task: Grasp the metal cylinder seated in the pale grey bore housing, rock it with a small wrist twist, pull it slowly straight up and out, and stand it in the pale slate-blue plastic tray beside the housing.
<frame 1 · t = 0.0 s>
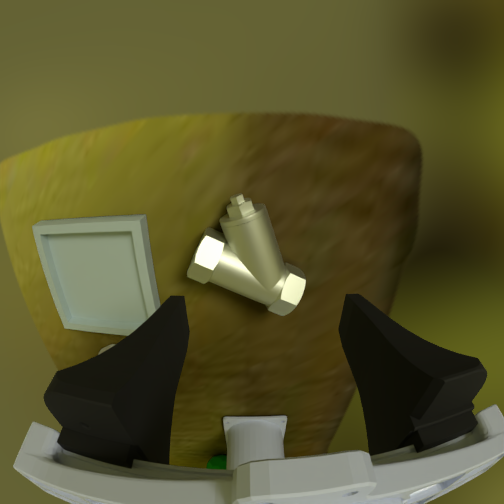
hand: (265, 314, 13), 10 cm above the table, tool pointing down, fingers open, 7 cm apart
pipe fitting: (256, 242, 23), on the table
polyhedron: (223, 455, 38), on the table
tray: (99, 276, 23), on the table
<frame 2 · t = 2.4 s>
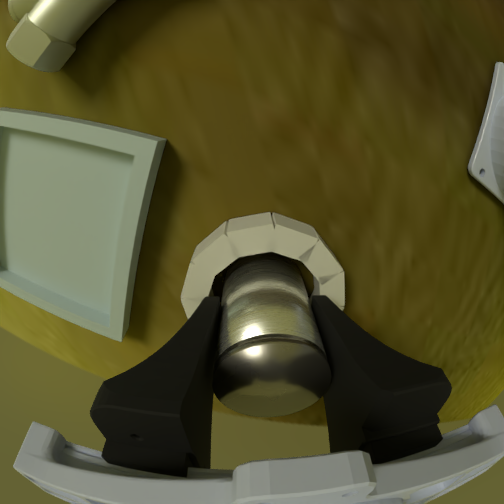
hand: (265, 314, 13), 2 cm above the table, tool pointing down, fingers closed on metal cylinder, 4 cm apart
metal cylinder: (266, 326, 12), in the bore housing, touching gripper
tray: (53, 218, 13), on the table
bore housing: (263, 286, 15), on the table
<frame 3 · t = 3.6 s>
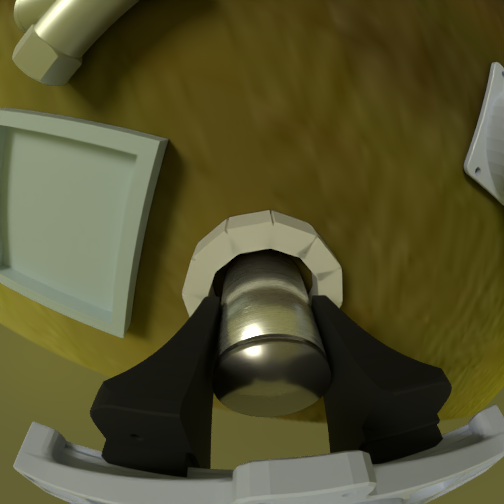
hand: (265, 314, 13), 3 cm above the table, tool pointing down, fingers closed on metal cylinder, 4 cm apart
metal cylinder: (266, 326, 12), in the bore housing, touching gripper
pipe fitting: (97, 0, 9), on the table
tray: (57, 216, 13), on the table
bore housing: (262, 282, 15), on the table
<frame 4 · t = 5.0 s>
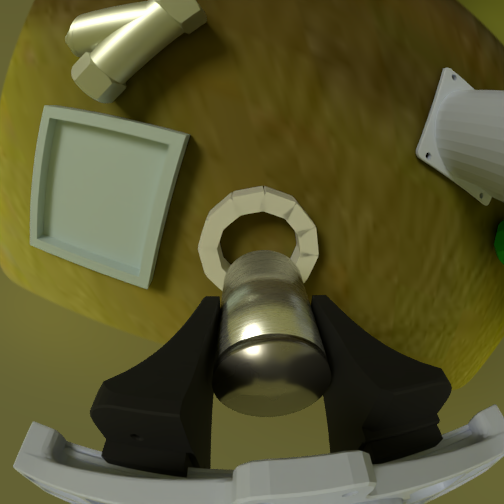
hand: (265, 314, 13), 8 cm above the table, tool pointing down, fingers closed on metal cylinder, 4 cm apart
metal cylinder: (266, 326, 12), point 9 cm above the table, touching gripper
pipe fitting: (134, 34, 14), on the table
polyhedron: (499, 231, 20), on the table
tray: (98, 191, 18), on the table
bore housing: (258, 241, 20), on the table
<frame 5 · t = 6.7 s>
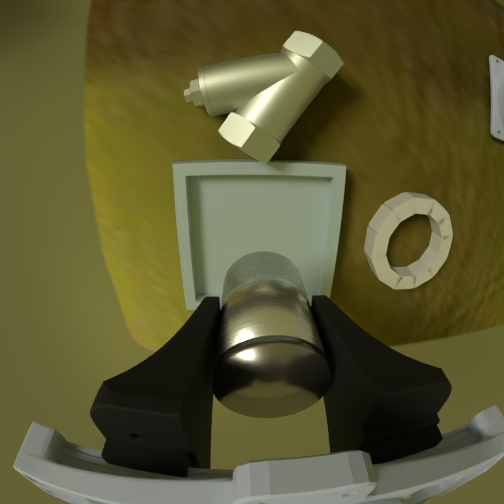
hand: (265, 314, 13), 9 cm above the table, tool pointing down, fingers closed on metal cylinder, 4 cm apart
metal cylinder: (266, 327, 12), point 10 cm above the table, touching gripper
pipe fitting: (257, 85, 17), on the table
tray: (258, 236, 21), on the table
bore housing: (406, 238, 21), on the table
when the fingers open (4 cm above the table, at t = 8.0 s): metal cylinder drops 1 cm, resting on tray.
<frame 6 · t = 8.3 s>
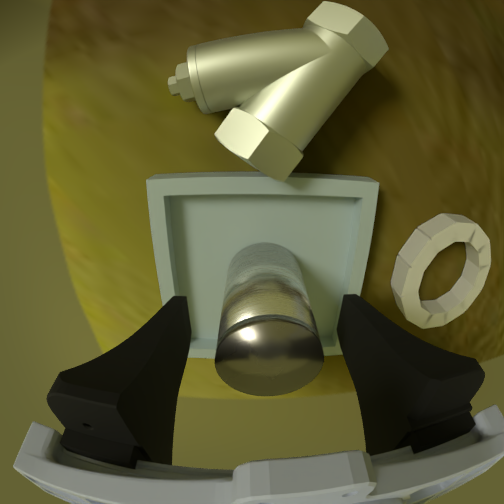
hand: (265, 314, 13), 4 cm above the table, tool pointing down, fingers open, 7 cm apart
metal cylinder: (266, 312, 13), in the tray
pipe fitting: (268, 73, 12), on the table
tray: (261, 271, 16), on the table
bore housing: (439, 267, 16), on the table
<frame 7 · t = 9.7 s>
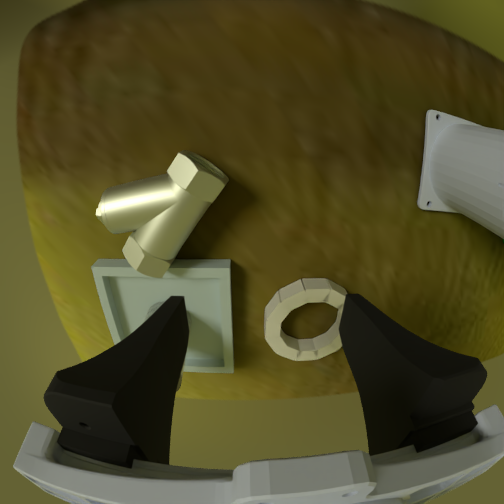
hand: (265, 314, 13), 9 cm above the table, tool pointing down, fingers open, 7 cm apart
pipe fitting: (160, 194, 20), on the table
tray: (168, 316, 24), on the table
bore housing: (308, 316, 24), on the table
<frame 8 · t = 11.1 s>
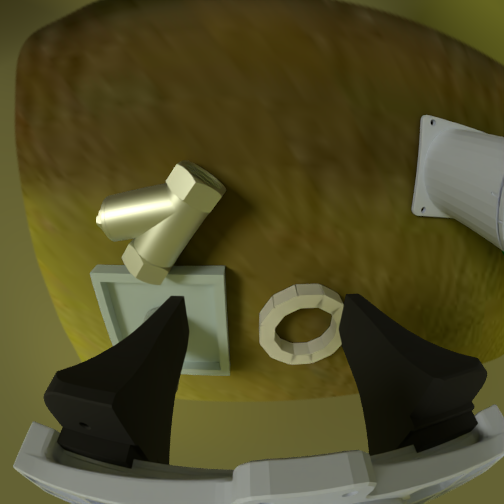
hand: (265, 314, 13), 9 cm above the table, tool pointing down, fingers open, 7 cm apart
pipe fitting: (159, 202, 20), on the table, touching tray
tray: (165, 320, 24), on the table
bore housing: (302, 321, 25), on the table
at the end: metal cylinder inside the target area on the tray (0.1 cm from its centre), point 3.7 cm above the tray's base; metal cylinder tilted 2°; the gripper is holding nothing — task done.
